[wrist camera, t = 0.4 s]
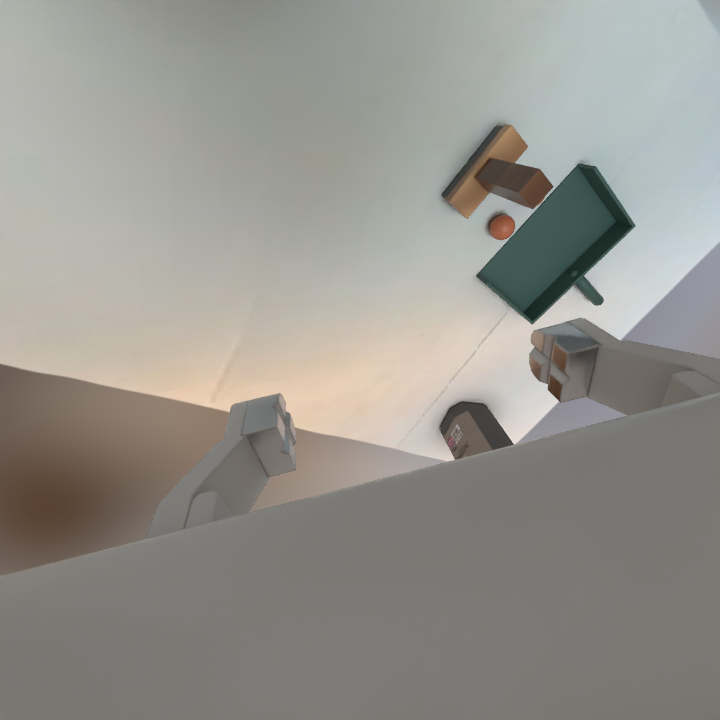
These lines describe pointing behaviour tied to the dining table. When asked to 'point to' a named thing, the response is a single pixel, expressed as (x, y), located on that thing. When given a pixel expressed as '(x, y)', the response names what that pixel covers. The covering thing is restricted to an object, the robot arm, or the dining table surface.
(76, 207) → the dining table surface
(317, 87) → the dining table surface
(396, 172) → the dining table surface
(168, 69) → the dining table surface
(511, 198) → the brush
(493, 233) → the ball
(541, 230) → the dustpan
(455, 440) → the liquor
